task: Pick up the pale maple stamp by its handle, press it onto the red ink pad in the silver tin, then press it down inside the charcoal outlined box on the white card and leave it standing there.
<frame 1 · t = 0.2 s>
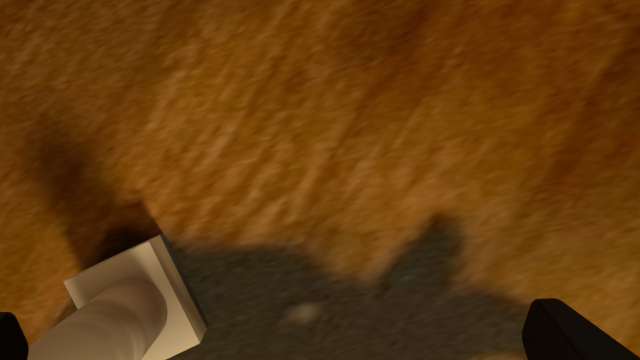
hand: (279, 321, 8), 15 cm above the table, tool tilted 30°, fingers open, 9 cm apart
stamp: (148, 296, 23), on the table
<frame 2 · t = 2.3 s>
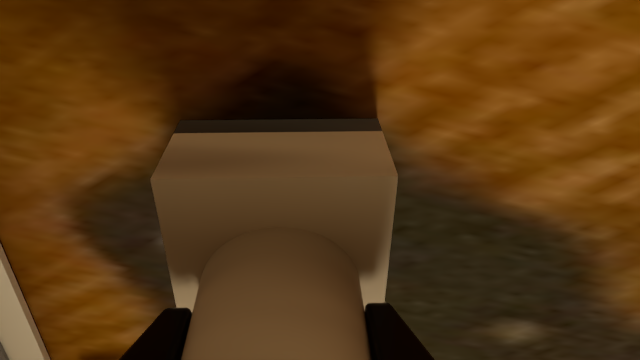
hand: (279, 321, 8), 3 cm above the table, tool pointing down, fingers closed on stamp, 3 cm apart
stamp: (283, 219, 11), on the table, touching gripper
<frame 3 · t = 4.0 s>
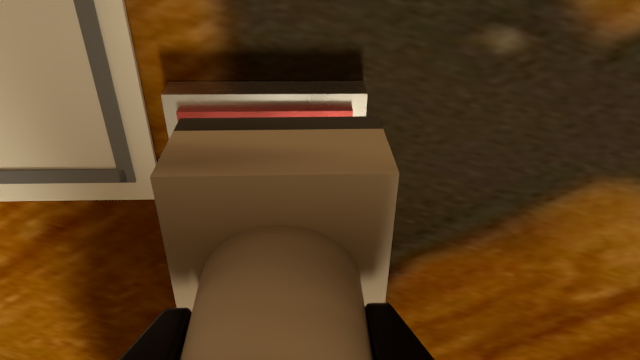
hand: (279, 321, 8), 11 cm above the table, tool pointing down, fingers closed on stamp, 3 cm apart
stamp: (283, 217, 11), point 8 cm above the table, touching gripper
ink pad: (272, 185, 20), on the table
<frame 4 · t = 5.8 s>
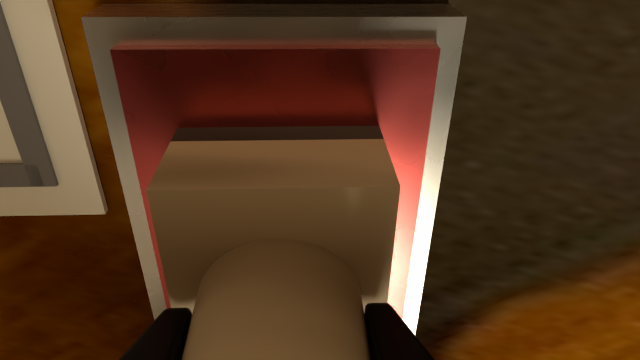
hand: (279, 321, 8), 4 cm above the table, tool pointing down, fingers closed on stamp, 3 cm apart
stamp: (283, 227, 11), point 1 cm above the table, touching gripper, ink pad
ink pad: (285, 190, 12), on the table
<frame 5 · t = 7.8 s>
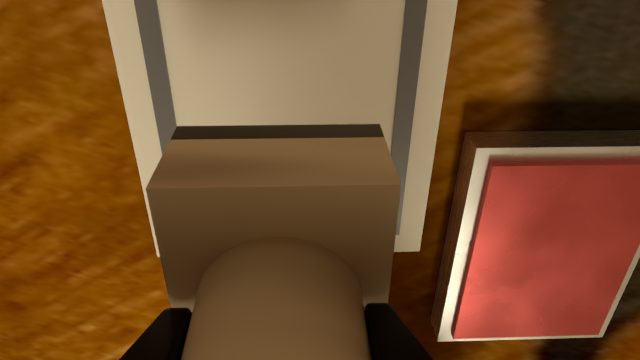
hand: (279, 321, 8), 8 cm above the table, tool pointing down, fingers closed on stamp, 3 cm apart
stamp: (283, 226, 11), point 6 cm above the table, touching gripper
ink pad: (534, 235, 19), on the table
card: (286, 119, 16), on the table
when the fingers open (3 cm above the table, at t = 9.1 s): stamp stays where it is, resting on card.
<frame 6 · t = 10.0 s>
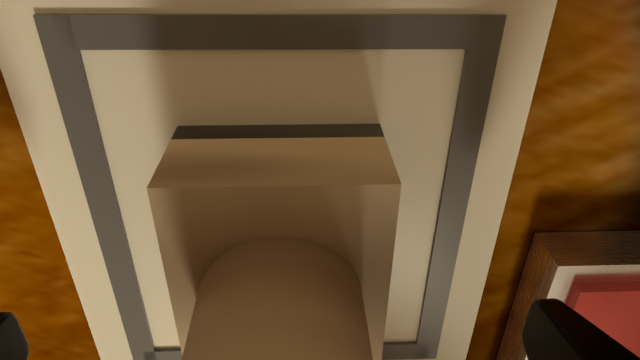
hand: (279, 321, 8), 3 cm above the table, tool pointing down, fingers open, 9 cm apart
stamp: (283, 226, 11), resting on card
ink pad: (614, 353, 14), on the table
card: (282, 219, 11), on the table
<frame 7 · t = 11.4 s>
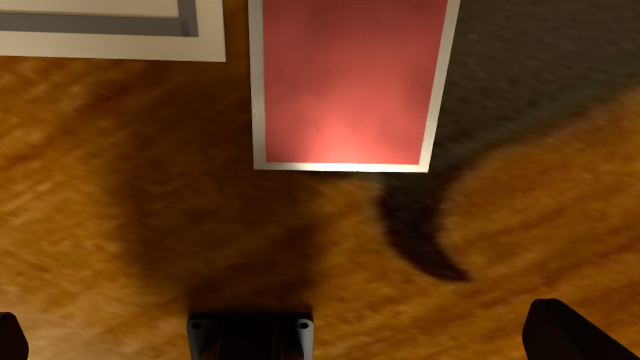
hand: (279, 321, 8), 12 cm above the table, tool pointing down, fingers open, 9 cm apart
ink pad: (347, 50, 18), on the table
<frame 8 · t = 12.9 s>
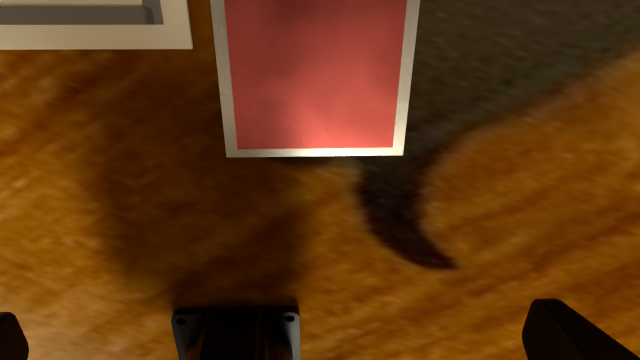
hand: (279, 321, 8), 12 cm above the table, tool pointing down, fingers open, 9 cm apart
ink pad: (314, 33, 18), on the table
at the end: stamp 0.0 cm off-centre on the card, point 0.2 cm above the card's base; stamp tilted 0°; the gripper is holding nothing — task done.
